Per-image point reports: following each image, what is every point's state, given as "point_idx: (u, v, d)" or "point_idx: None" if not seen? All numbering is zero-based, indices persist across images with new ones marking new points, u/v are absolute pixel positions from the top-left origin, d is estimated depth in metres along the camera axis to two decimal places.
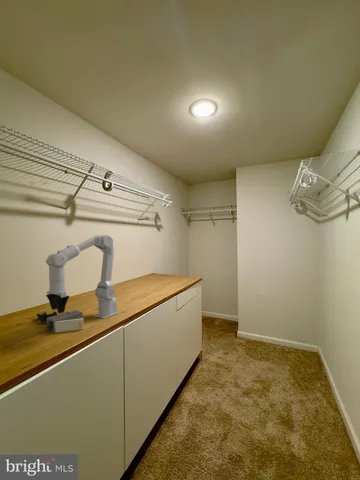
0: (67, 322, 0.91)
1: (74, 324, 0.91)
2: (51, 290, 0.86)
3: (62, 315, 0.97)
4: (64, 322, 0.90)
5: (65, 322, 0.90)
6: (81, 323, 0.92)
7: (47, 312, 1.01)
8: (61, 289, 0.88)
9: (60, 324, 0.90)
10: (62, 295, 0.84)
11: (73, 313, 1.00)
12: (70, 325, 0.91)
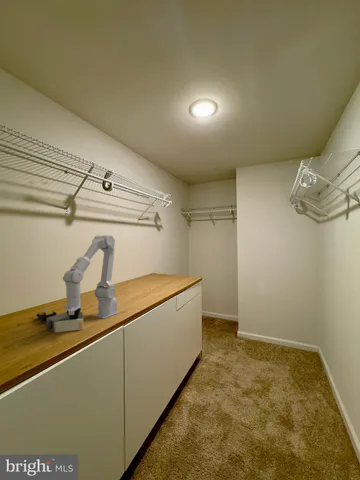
0: (67, 322, 0.90)
1: (74, 324, 0.91)
2: None
3: (62, 315, 0.97)
4: (64, 322, 0.90)
5: (65, 322, 0.90)
6: (81, 323, 0.91)
7: (46, 312, 1.01)
8: (74, 305, 0.90)
9: (60, 324, 0.90)
10: (69, 313, 0.86)
11: None
12: (70, 325, 0.91)
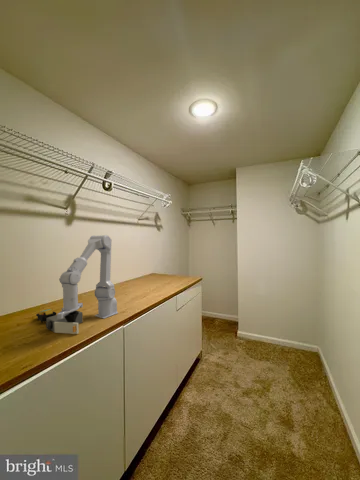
0: (63, 324, 0.88)
1: (69, 327, 0.88)
2: None
3: None
4: (61, 324, 0.88)
5: (62, 324, 0.88)
6: (75, 328, 0.87)
7: (46, 312, 1.01)
8: (68, 308, 0.86)
9: (58, 325, 0.89)
10: (58, 316, 0.82)
11: None
12: (66, 328, 0.88)
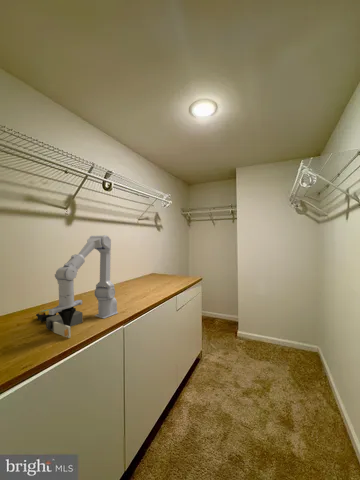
0: (59, 326, 0.87)
1: (63, 330, 0.85)
2: None
3: None
4: (58, 325, 0.87)
5: (58, 325, 0.87)
6: (66, 331, 0.83)
7: (46, 312, 1.01)
8: (62, 305, 0.84)
9: (56, 326, 0.88)
10: (49, 312, 0.81)
11: None
12: (61, 330, 0.86)
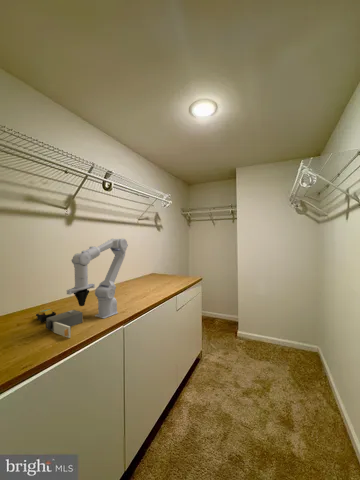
0: (59, 326, 0.87)
1: (63, 330, 0.85)
2: None
3: (62, 315, 0.97)
4: (58, 325, 0.87)
5: (58, 325, 0.87)
6: (66, 331, 0.83)
7: (46, 312, 1.01)
8: (77, 286, 0.95)
9: (56, 326, 0.88)
10: (67, 292, 0.91)
11: (73, 313, 1.00)
12: (61, 330, 0.86)
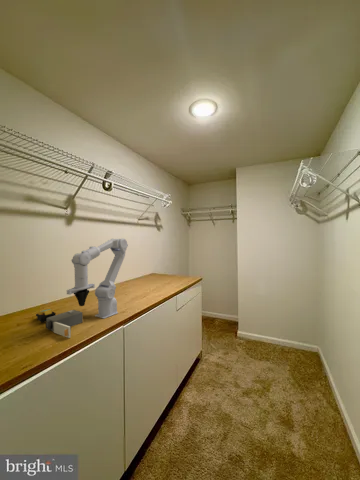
0: (59, 326, 0.87)
1: (63, 330, 0.85)
2: None
3: (62, 315, 0.97)
4: (58, 325, 0.87)
5: (58, 325, 0.87)
6: (66, 331, 0.83)
7: (45, 312, 1.01)
8: (77, 286, 0.95)
9: (56, 326, 0.88)
10: (67, 292, 0.91)
11: (73, 313, 1.00)
12: (61, 330, 0.86)
